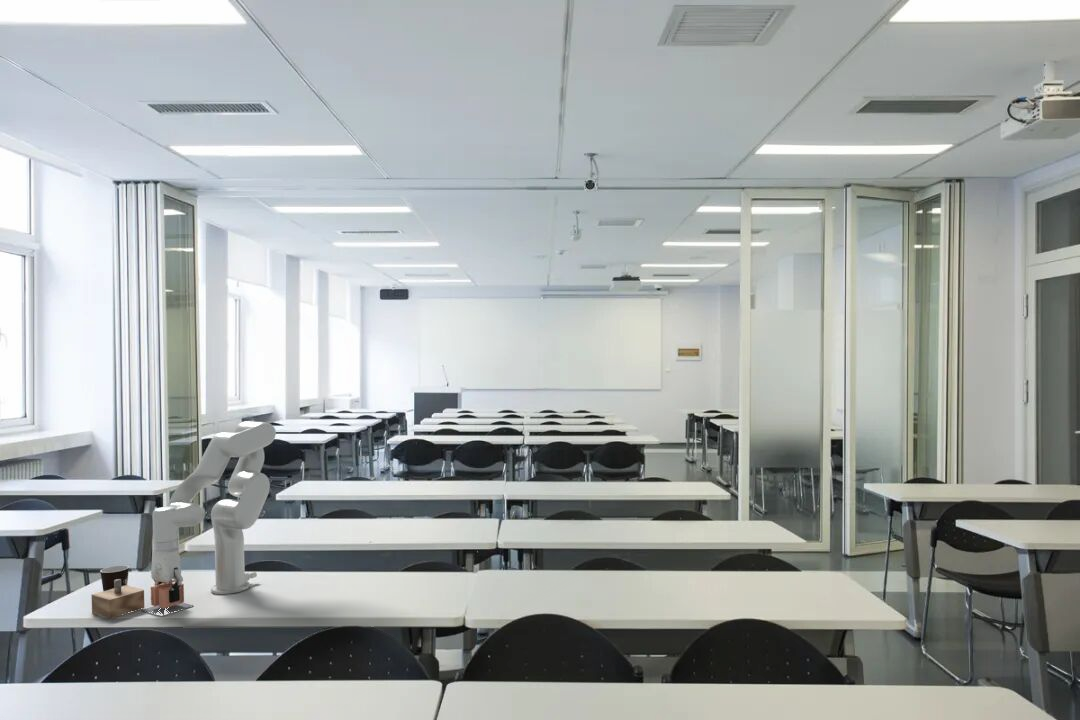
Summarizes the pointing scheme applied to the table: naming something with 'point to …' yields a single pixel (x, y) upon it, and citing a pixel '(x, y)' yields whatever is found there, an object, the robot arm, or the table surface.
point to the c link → (164, 595)
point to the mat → (170, 609)
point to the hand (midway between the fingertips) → (167, 599)
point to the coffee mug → (114, 576)
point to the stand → (117, 600)
